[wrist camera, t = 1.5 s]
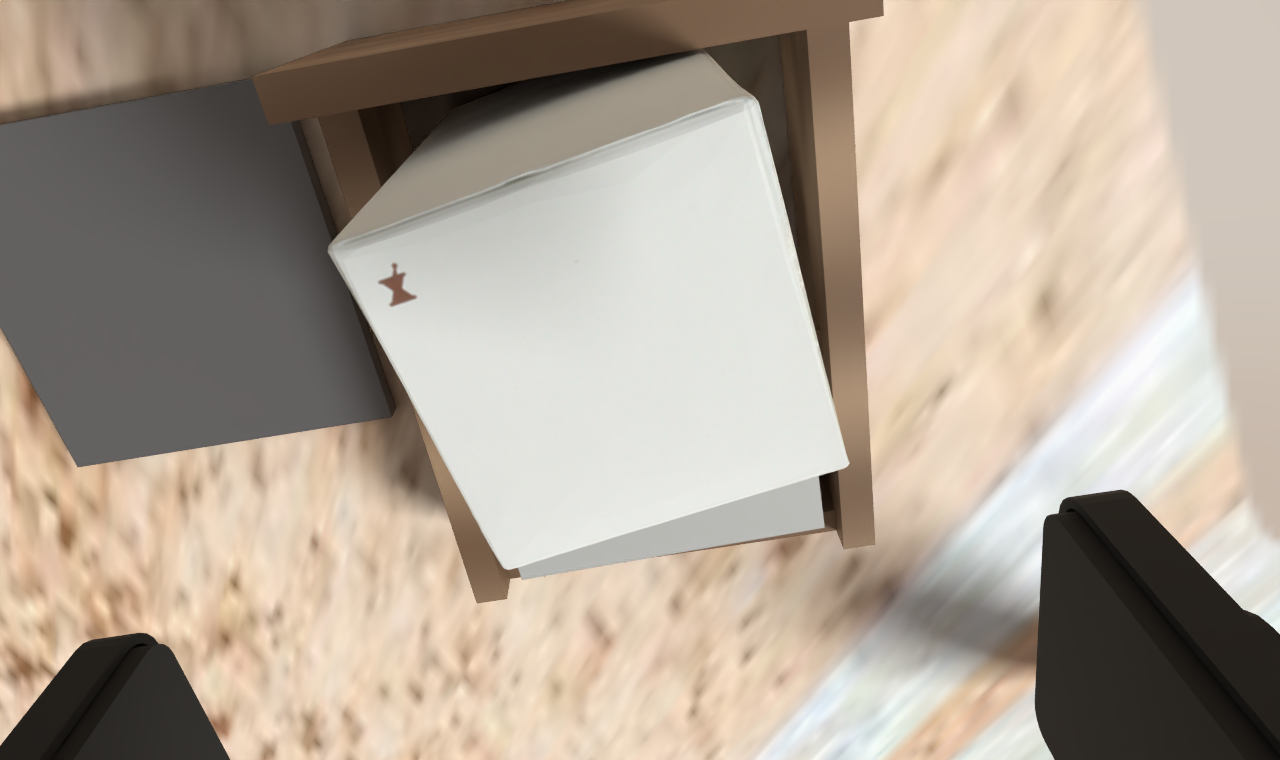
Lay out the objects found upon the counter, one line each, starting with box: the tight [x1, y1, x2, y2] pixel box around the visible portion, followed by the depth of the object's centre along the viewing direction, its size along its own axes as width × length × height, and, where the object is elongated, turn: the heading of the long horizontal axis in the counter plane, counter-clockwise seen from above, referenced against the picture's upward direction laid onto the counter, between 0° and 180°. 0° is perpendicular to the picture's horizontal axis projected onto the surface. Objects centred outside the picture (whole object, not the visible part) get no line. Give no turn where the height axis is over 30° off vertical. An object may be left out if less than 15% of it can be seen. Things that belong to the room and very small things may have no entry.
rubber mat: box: [0, 78, 396, 467], centre depth 27 cm, size 11×11×1 cm
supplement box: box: [328, 48, 849, 570], centre depth 20 cm, size 7×7×13 cm
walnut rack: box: [252, 0, 884, 603], centre depth 24 cm, size 17×13×7 cm
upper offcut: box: [518, 476, 825, 580], centre depth 27 cm, size 4×10×2 cm, turn 101°
